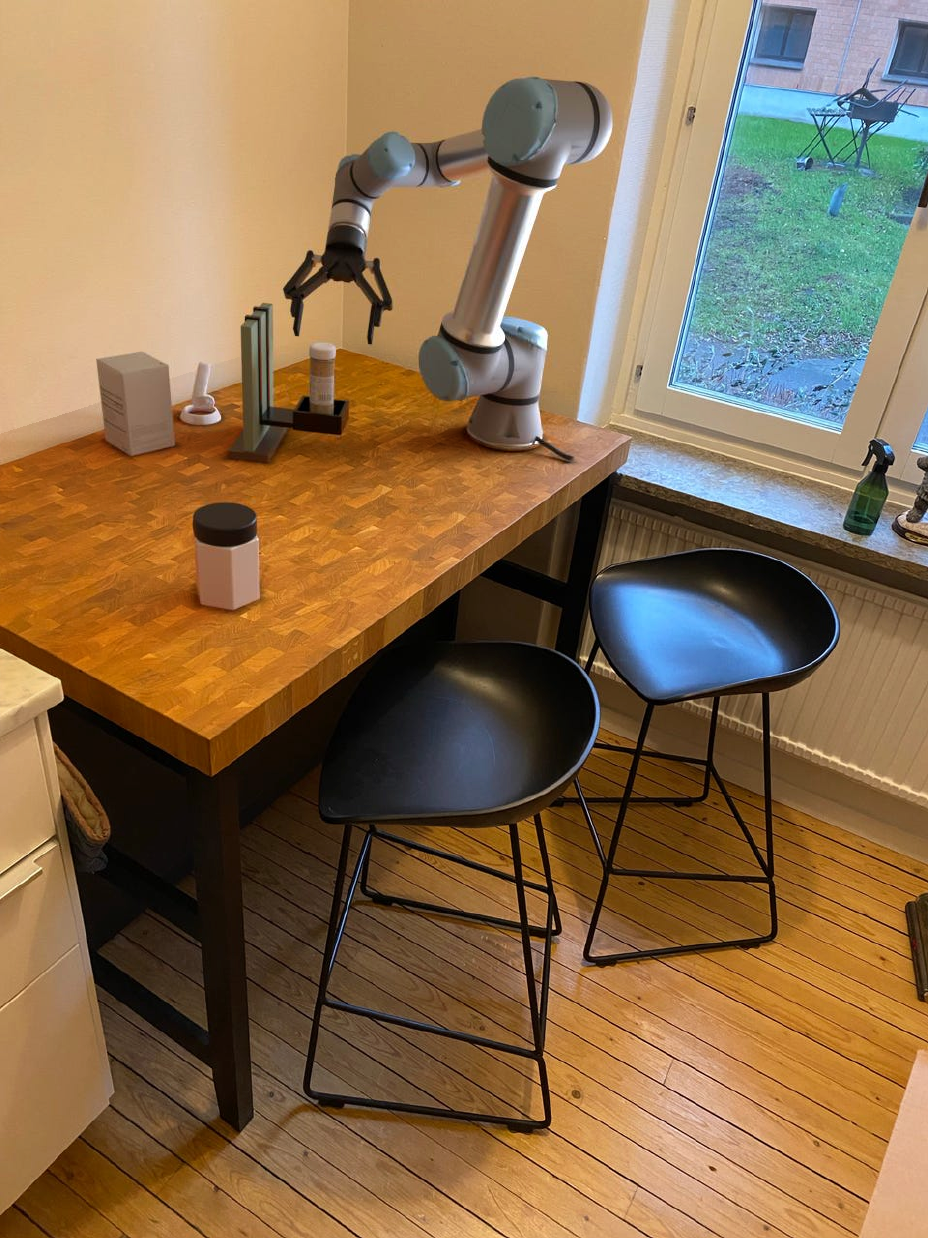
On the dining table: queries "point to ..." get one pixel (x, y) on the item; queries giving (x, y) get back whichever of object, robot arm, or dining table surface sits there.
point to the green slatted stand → (256, 394)
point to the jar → (226, 555)
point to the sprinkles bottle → (322, 377)
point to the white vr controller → (201, 400)
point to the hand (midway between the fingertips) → (332, 336)
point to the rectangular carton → (136, 402)
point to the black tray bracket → (301, 414)
